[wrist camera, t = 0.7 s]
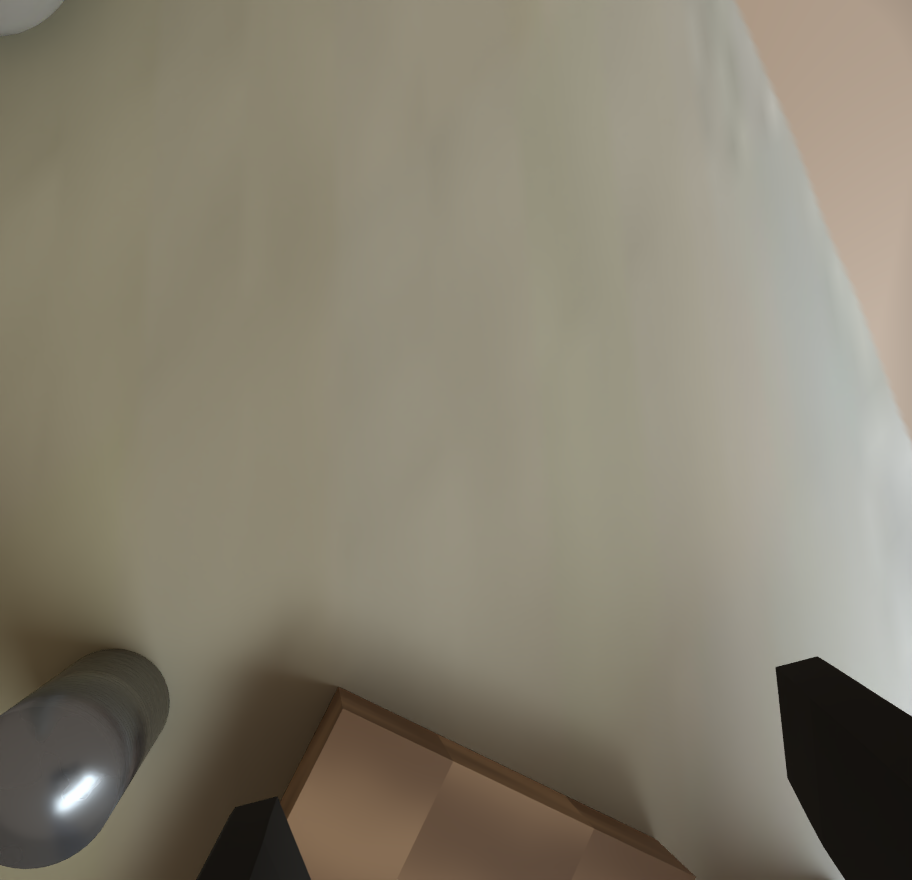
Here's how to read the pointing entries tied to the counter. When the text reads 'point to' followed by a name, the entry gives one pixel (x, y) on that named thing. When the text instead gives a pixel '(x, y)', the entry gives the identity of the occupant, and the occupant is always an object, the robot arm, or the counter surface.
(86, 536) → the counter surface
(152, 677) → the grey cylinder
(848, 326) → the counter surface
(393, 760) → the bead block
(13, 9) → the white vase
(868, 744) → the robot arm
